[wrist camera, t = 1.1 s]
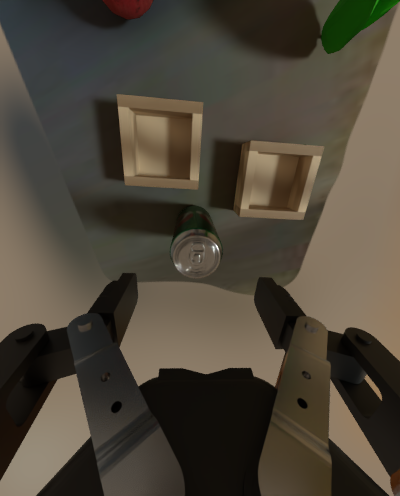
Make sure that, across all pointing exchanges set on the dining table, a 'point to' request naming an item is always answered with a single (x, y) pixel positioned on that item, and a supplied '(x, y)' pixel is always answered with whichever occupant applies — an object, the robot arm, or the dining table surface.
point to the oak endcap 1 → (160, 141)
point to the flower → (351, 21)
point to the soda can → (195, 243)
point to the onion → (128, 7)
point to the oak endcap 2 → (275, 179)
